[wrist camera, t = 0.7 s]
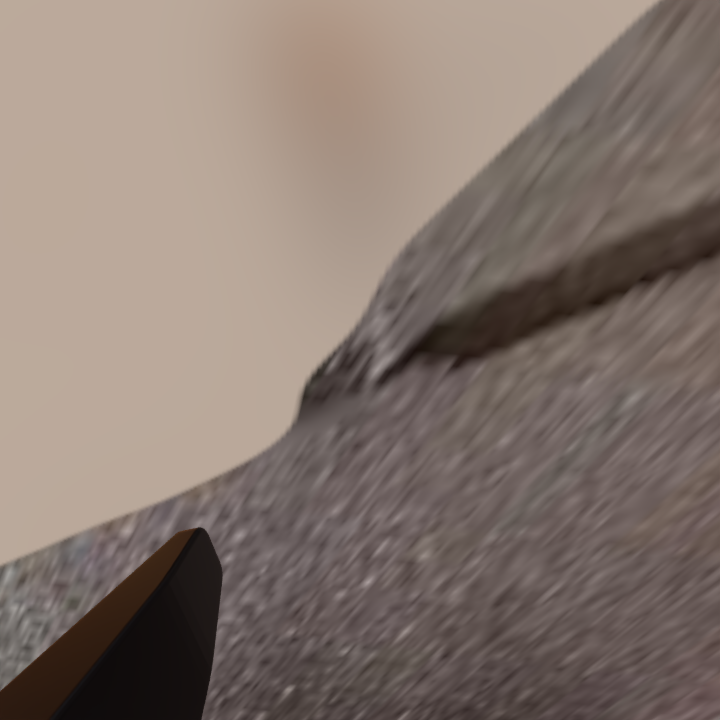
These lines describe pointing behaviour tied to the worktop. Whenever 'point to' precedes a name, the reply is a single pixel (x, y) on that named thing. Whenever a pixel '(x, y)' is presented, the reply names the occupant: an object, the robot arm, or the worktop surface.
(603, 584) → the worktop surface
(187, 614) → the robot arm
